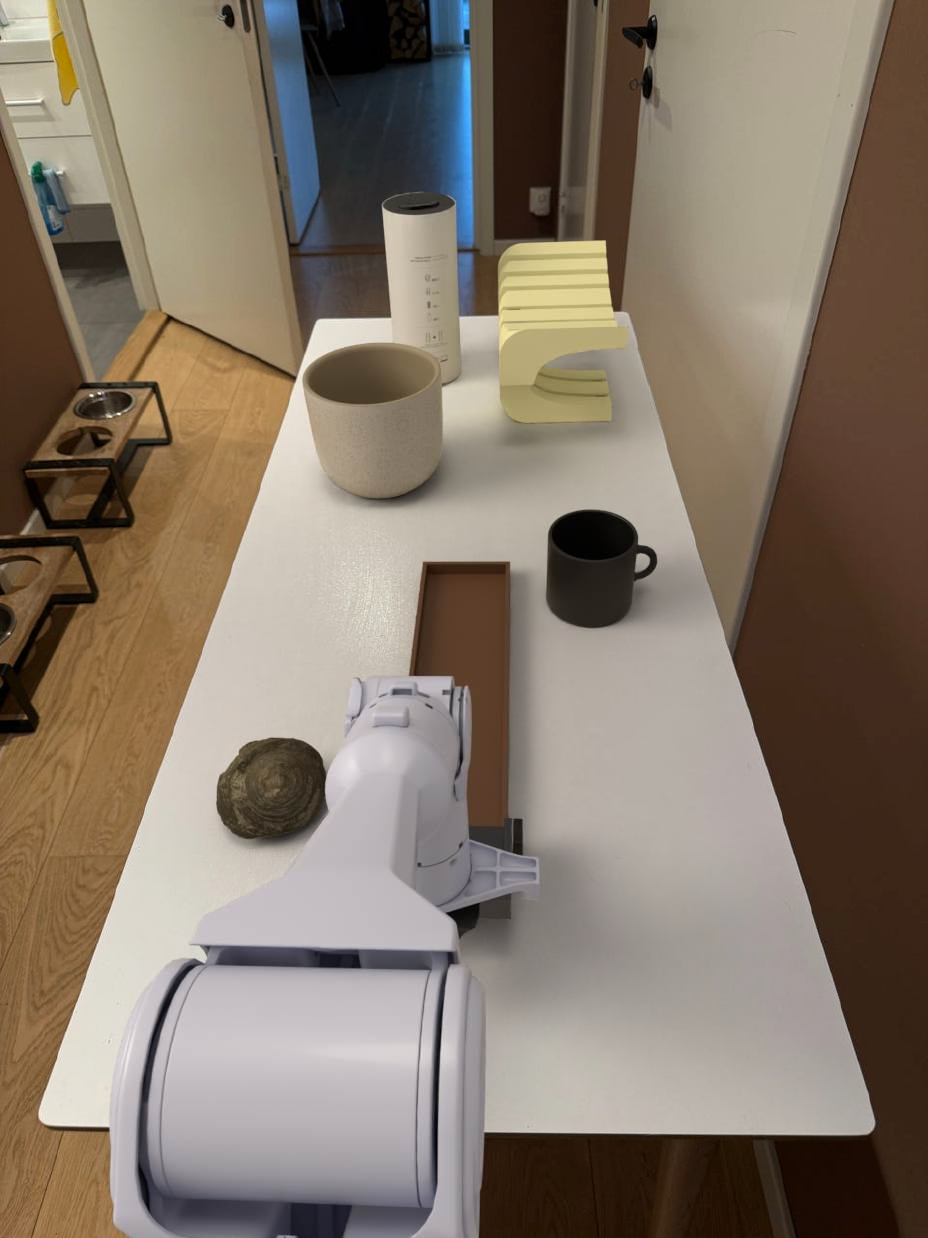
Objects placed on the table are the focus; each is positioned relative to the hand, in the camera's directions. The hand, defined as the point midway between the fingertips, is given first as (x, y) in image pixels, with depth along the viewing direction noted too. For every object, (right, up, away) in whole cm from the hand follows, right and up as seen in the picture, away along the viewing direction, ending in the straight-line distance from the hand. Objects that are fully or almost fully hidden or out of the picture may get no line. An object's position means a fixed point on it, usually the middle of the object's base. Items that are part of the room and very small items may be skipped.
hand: (434, 941), depth 66 cm
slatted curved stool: (+15, +55, +72) cm, 92 cm away
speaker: (-3, +61, +80) cm, 101 cm away
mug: (+17, +25, +37) cm, 48 cm away
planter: (-9, +42, +58) cm, 71 cm away
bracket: (+1, +3, +13) cm, 13 cm away
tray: (+2, +15, +27) cm, 31 cm away
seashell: (-15, +7, +19) cm, 25 cm away
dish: (0, +1, +5) cm, 5 cm away
